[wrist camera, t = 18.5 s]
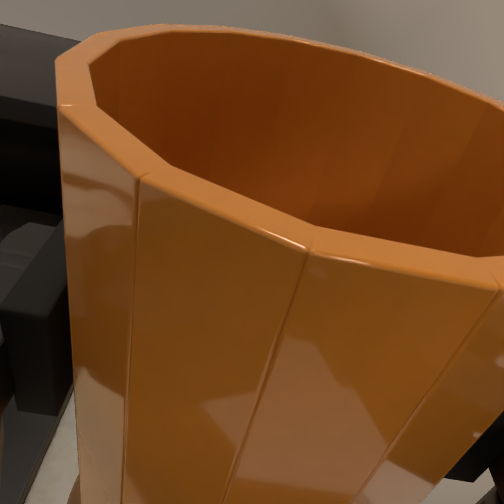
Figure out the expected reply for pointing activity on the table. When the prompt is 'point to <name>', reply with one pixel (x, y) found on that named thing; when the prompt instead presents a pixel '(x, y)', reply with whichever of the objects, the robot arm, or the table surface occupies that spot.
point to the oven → (28, 197)
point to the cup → (276, 268)
